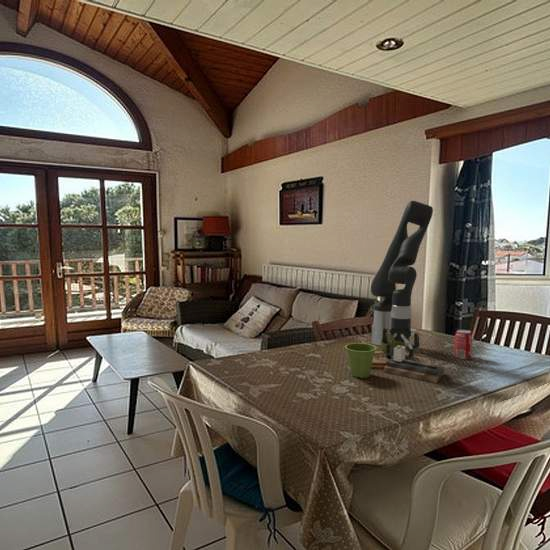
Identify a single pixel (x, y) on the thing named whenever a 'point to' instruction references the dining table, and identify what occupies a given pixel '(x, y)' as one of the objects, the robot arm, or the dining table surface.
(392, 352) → the fruit
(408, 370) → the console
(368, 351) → the plant pot
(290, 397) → the dining table surface
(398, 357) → the fader knob
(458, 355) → the soda can
